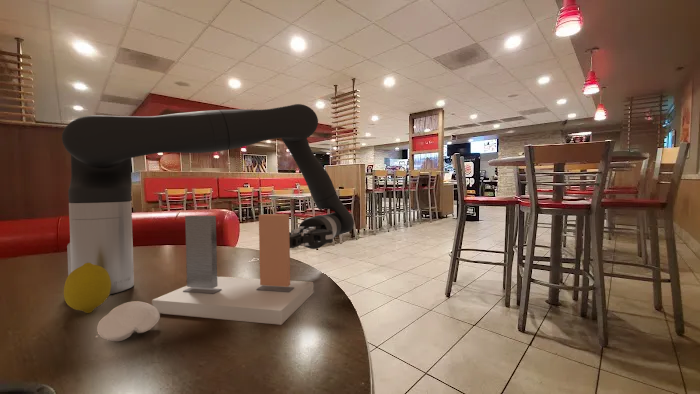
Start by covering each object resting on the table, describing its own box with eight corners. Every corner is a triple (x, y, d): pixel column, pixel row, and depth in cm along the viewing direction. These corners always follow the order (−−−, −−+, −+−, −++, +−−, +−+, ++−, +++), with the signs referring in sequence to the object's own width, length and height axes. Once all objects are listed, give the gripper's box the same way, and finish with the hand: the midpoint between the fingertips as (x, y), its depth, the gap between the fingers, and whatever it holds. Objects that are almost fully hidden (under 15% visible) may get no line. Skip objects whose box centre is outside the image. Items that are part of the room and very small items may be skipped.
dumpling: (141, 323, 42) (140, 296, 42) (168, 327, 40) (168, 299, 40) (84, 348, 35) (83, 316, 35) (115, 355, 33) (114, 321, 33)
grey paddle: (187, 286, 49) (185, 216, 49) (192, 284, 50) (190, 215, 50) (212, 288, 48) (210, 216, 47) (217, 286, 49) (215, 215, 49)
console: (152, 312, 45) (151, 298, 45) (210, 285, 58) (209, 275, 58) (281, 324, 40) (281, 309, 40) (313, 292, 53) (313, 280, 53)
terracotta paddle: (260, 285, 49) (258, 214, 49) (263, 282, 50) (262, 214, 50) (287, 286, 48) (285, 214, 48) (290, 284, 49) (288, 214, 49)
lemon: (84, 306, 48) (83, 259, 48) (120, 305, 48) (118, 258, 48) (53, 321, 42) (51, 268, 42) (93, 319, 43) (92, 266, 43)
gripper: (293, 215, 73) (257, 222, 56) (344, 215, 70) (321, 223, 53) (294, 245, 73) (257, 261, 56) (344, 246, 70) (322, 263, 53)
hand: (288, 242), depth 55 cm, fingers closed
